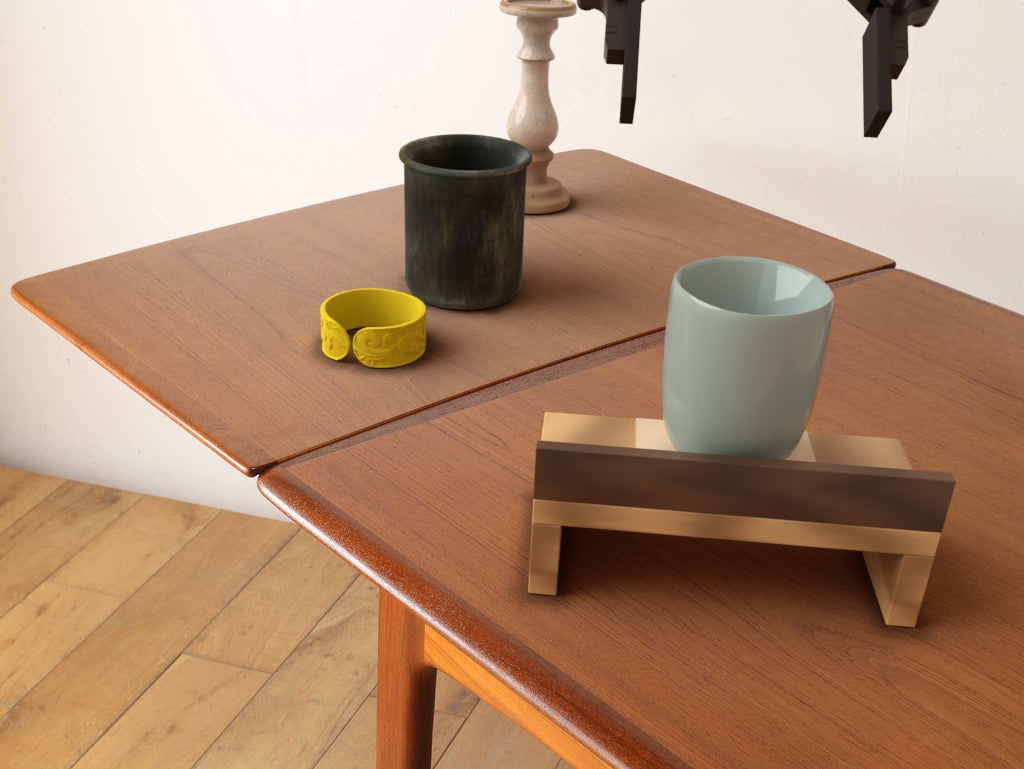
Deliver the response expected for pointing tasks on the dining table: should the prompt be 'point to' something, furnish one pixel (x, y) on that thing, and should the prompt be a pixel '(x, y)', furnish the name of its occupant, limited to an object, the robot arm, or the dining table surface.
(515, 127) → the candle holder
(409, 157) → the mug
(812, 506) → the shelf
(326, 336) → the bracelet
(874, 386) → the dining table surface
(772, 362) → the cup
